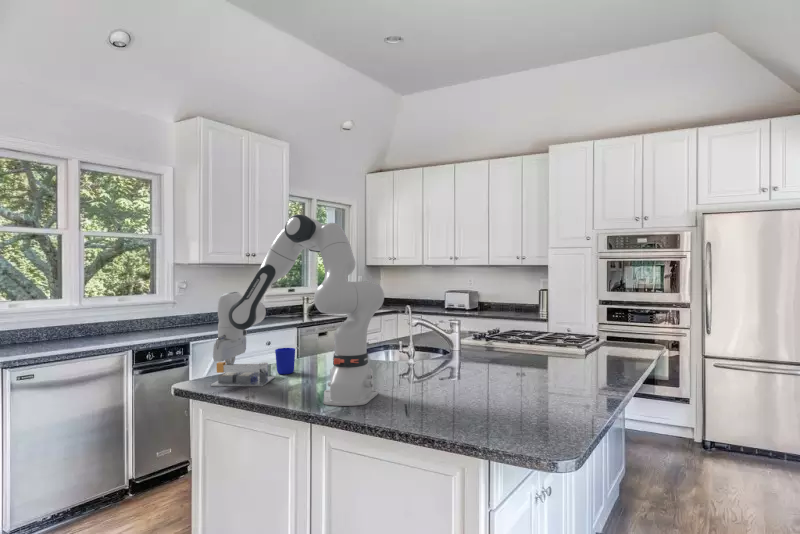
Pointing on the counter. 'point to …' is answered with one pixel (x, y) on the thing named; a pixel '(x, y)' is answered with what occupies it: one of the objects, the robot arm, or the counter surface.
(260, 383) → the chassis plate
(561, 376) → the counter surface
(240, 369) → the swing arm
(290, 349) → the mug
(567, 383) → the counter surface
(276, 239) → the robot arm
